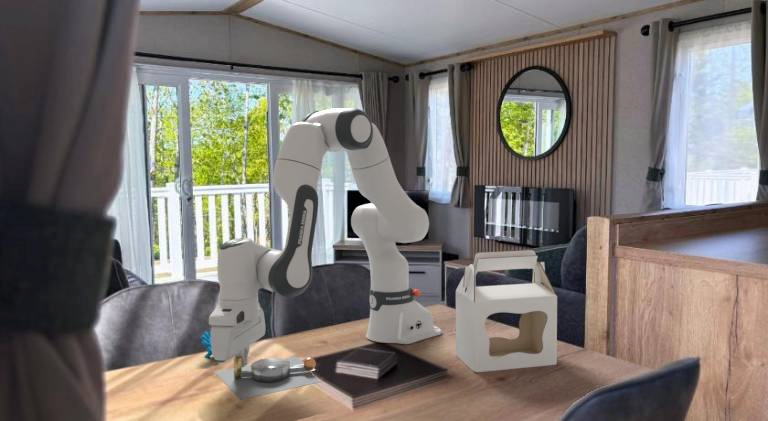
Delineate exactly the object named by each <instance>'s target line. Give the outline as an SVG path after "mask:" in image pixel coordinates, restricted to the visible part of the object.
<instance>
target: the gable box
mask: <svg viewBox="0 0 768 421" xmlns="http://www.w3.org/2000/svg"><path fill="white" fill-rule="evenodd" d="M538 256H539V255H537V254H536V251H535V250H533V249H527V250H526V249H525V250H523V249H522V250H504V251H502V250H501V251H486V252H485V251H483V252H475V254H474V256H473V261H472V263H471V264H469V265H465V266H464V270H463V271H464V273H463V276H462V278H461V280H460V282H459V284H458V286H457V288H456V289H455V356H456V357H457V358H458V359H459V360H460V361H461V362H463V364H465V365H466V366H467V367H468V368H469V369H470V370H471V371H472V372H474V373H476V374H477V373H485V372H496V371H505V370H506V371H507V370H516V369H517V370H518V369H526V368H535V367H536V368H537V367H547V366H557V364H558V362H557V360H558V358H557V357H558V356H557V353H558V350H557V349H558V348H557V347H558V342H557V341H558V340H557V337H558V336H557V335H558V294H557V293H556V291H555V289H554V287H553V285H552V283H551V281H550V279H549V277H548V275H547V273H546V267H545V261H538V258H539V257H538ZM520 269H521V270H524V269H525V270H526V269H527V270H530V269H532V281H531V282H525V283H523V282H522V283H509V284H493V285H477V284H476V276H477V274H478V272H486V271H487V272H488V271H504V270H507V271H508V270H520ZM498 313H510V314H519V315H520V314H521V315H520V318H519V321H518V328H519V335H518V336H517V337H516V338H512V339H511V338H510V339H509V338H506V337H500V336H495V337H489V335H488V331H487V329H486V320H487V318H488V317H489V316H491V315H494V314H498Z"/></svg>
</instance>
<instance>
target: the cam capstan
mask: <svg viewBox="0 0 768 421" xmlns="http://www.w3.org/2000/svg"><path fill="white" fill-rule="evenodd" d="M232 358H233V368H234V379H240V378H242V377H252V378H253V379H254V380H257V381H261V382H276V381H280V380H282V379H284V378H286V377H288V376H289V375H290V373H292V372H303V371H311V370H313V369H315V367H316V364H317V362H316V360H315V358H313V357H306V358H305V359H304V360H303V366H296V367H290V361H289V360H287V359H284V358H283V357H268V358H262V359H259V360H255V361H254V362H252V363H251V364H250V365H251V370H248V371H242V361H241V357H235V356H234V357H232Z"/></svg>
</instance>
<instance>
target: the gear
mask: <svg viewBox="0 0 768 421" xmlns="http://www.w3.org/2000/svg"><path fill="white" fill-rule="evenodd" d="M199 338H200V339H201V340H202V341H201V345H202V346H204V347H206V351H207V352H206V354H205V355H204V356H203V358H205V359H207V358H210V357H211V356H213V355H212V348H211V331H209V332H208V331H203V332H202V335H201V336H200V337H199ZM219 361H220V362H223V361H222V360H219Z"/></svg>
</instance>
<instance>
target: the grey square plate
mask: <svg viewBox="0 0 768 421" xmlns="http://www.w3.org/2000/svg"><path fill="white" fill-rule="evenodd" d="M283 359H287V360H289V361H290V367H296V366H303V362H304V360H302V359H301V358H299V357H297V356H289V357H285V358H283ZM248 370H251V364H249V365H248V364H247V365H246V366H244V367H243V368H242V371H248ZM315 370H317V369H315V368H314V369H313V370H311V371H303V372H292V373H290V375H289V376H288V377H286V378H284V379H282V380H280V381H276V382H261V381H257V380H254V379H253V378H252V377H242V378H240V379H234V367H232V368H228V369H223V370H218V371H214V372H213V373H214V374H215V375H216V376H217V377H218V378H219V379H220V380H221V381H222V382H223V383H224V384H225V385H226V386H227V387H228V388H229V389H230V391H231V392H233V393H234V395H236V397H237V398H238V399H239V400H240V401H241V400H246V399H250V398H254V397H255V398H256V397H260V396H264V395H268V394H273V393H274V394H275V393H278V392H282V391H287V390H291V389H296V388H299V387H305V386H309V385H313V384H318V383H322V382H321V381H319V380H318V379H317V378H316V377H315V376H313V375H312V373H310V372H312V371H315Z"/></svg>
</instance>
